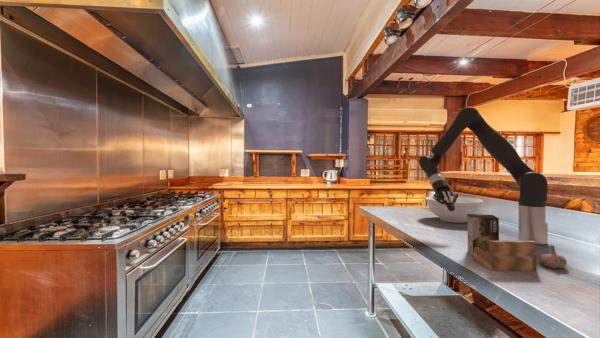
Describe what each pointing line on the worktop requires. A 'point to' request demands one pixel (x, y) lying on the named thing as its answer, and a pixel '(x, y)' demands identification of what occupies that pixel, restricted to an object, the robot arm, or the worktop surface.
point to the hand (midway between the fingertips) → (452, 210)
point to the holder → (508, 256)
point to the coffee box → (481, 231)
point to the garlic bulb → (553, 259)
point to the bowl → (461, 209)
